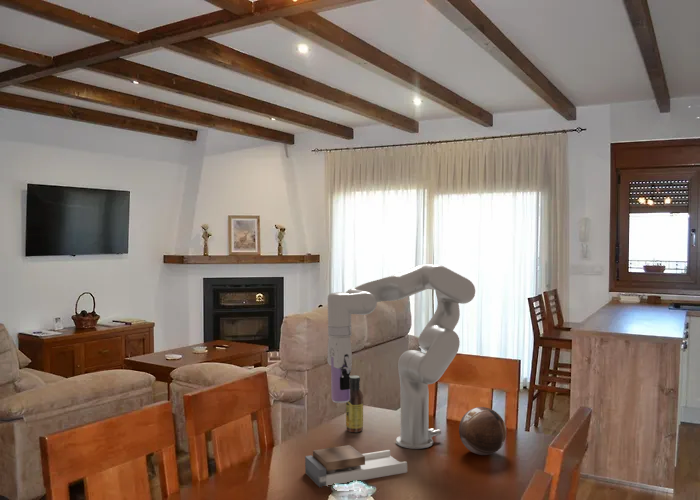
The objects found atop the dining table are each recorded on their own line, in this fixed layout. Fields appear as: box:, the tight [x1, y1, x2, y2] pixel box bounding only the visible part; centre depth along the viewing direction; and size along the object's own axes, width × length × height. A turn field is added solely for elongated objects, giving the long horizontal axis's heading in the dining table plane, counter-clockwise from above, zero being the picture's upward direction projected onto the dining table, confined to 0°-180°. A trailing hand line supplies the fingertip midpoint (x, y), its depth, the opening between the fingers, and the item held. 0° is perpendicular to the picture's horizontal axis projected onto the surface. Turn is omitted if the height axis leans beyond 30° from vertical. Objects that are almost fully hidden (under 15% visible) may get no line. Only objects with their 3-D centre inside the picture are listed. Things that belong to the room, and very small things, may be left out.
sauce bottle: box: [345, 375, 364, 433], centre depth 228 cm, size 7×6×20 cm
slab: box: [312, 444, 365, 474], centre depth 185 cm, size 12×11×5 cm
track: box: [304, 449, 408, 488], centre depth 187 cm, size 28×12×5 cm, turn 114°
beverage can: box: [330, 355, 350, 404], centre depth 201 cm, size 6×6×15 cm
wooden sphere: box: [458, 406, 507, 456], centre depth 203 cm, size 15×15×15 cm
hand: (340, 386), depth 201 cm, fingers closed on beverage can, 5 cm apart
